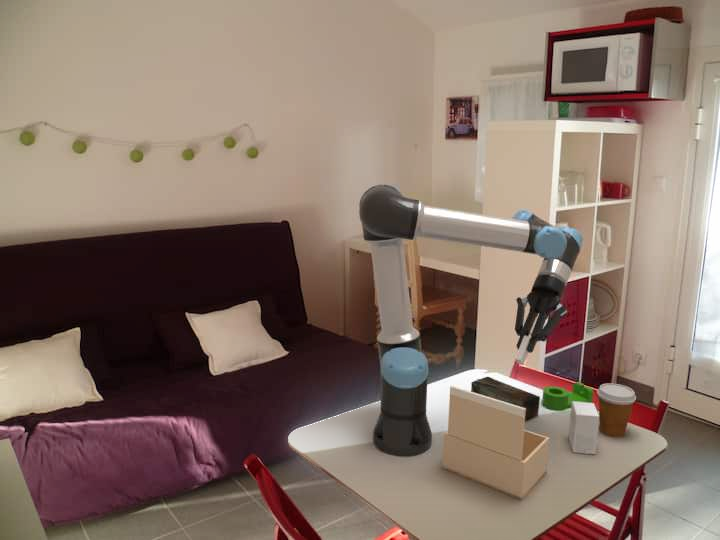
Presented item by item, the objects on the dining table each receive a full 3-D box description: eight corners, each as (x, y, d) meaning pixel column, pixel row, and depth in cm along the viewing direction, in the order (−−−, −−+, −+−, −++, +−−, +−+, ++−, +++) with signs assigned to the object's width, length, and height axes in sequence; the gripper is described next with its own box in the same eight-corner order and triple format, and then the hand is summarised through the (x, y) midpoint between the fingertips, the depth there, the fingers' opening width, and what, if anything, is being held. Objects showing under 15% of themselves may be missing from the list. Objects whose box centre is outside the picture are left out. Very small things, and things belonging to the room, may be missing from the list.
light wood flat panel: (447, 434, 141) (450, 386, 138) (449, 433, 141) (451, 385, 139) (520, 460, 130) (524, 409, 127) (521, 459, 131) (526, 408, 128)
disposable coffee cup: (632, 443, 156) (638, 400, 154) (593, 436, 159) (598, 394, 157) (630, 426, 165) (635, 385, 162) (593, 420, 168) (597, 380, 165)
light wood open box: (442, 467, 144) (444, 433, 142) (470, 444, 154) (472, 412, 152) (521, 500, 132) (524, 463, 130) (546, 472, 142) (549, 437, 140)
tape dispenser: (553, 413, 173) (555, 398, 172) (536, 403, 179) (538, 388, 178) (592, 404, 179) (594, 389, 178) (575, 394, 185) (576, 380, 184)
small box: (595, 455, 150) (600, 416, 148) (572, 452, 151) (576, 414, 149) (590, 439, 158) (594, 402, 155) (568, 437, 159) (571, 400, 156)
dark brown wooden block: (486, 393, 185) (487, 373, 184) (539, 416, 171) (541, 395, 169) (469, 400, 180) (470, 379, 179) (522, 424, 166) (524, 402, 164)
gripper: (579, 293, 152) (548, 375, 143) (530, 285, 160) (498, 362, 151) (574, 277, 147) (542, 361, 138) (523, 269, 155) (490, 348, 146)
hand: (519, 361), depth 145 cm, fingers closed
